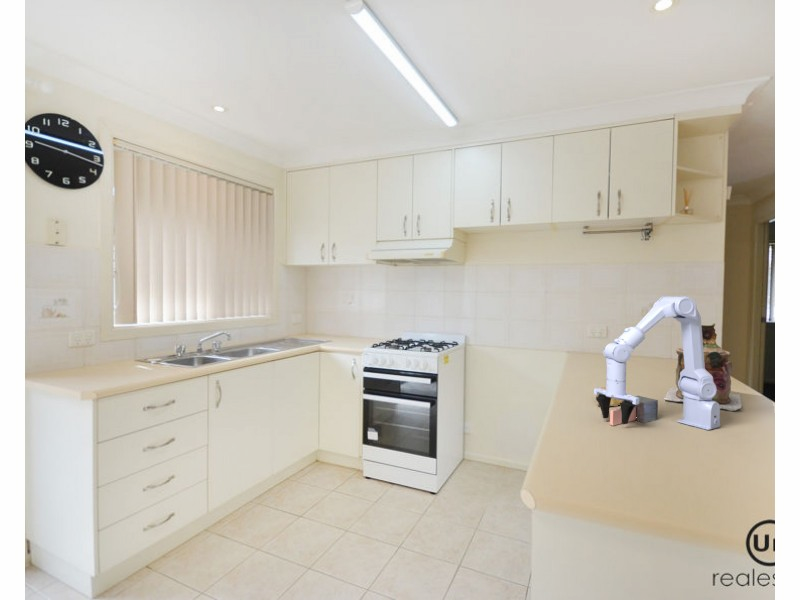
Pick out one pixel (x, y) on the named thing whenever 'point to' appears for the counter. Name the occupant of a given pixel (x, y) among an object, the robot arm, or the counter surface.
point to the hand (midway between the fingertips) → (615, 420)
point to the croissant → (612, 400)
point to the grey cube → (646, 409)
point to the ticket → (620, 416)
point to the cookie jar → (710, 371)
